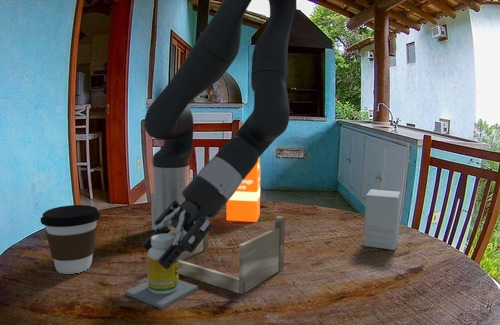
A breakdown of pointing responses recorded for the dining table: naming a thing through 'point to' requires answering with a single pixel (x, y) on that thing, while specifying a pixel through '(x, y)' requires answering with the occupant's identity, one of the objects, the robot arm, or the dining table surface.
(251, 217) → the orange juice
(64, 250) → the coffee cup
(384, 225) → the supplement box
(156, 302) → the mat
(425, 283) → the dining table surface
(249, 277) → the grey open box frame
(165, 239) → the supplement bottle
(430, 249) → the dining table surface
